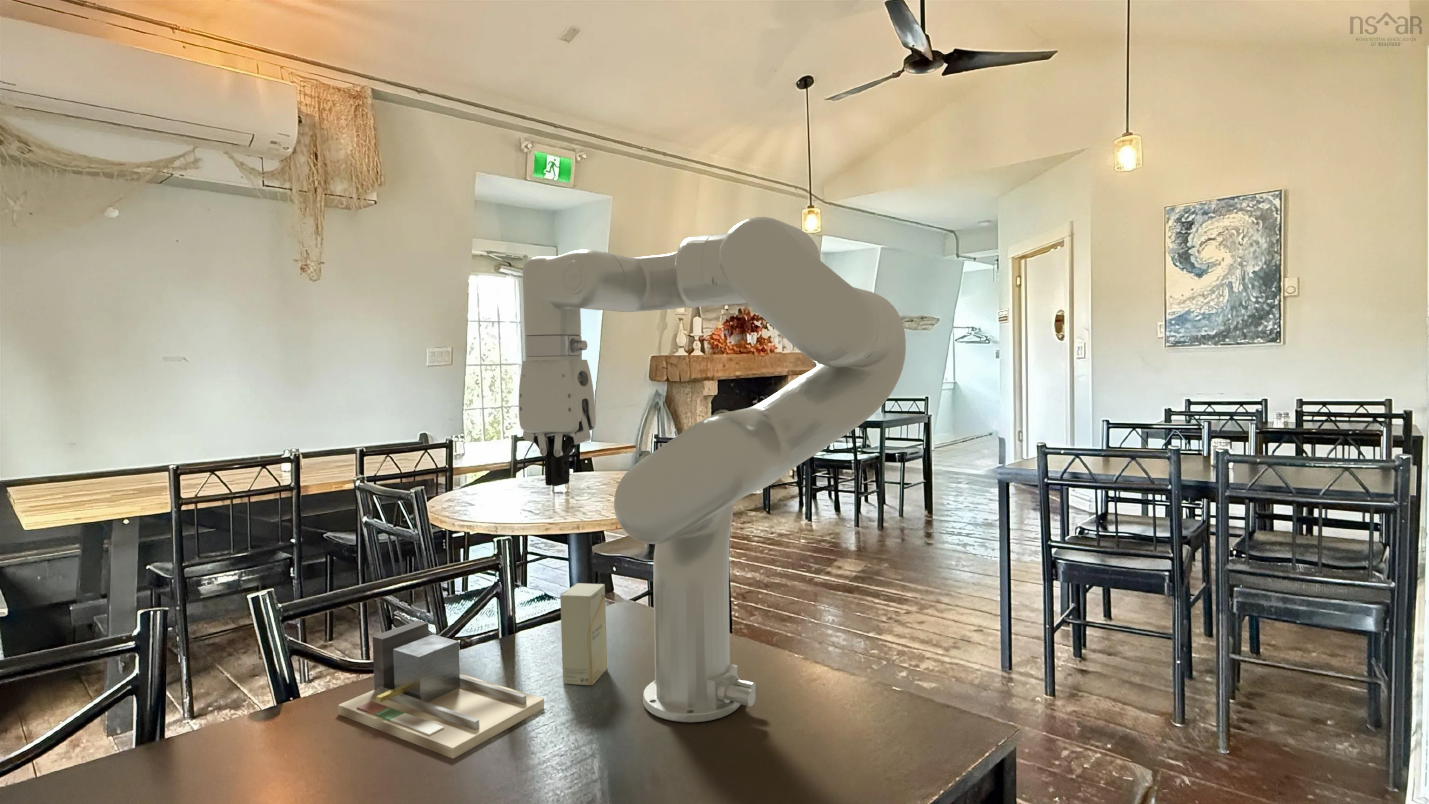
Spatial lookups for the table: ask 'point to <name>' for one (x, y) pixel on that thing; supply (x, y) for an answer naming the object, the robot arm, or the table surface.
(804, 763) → the table surface
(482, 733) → the gauge board
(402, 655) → the block
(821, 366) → the robot arm
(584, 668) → the skincare box
